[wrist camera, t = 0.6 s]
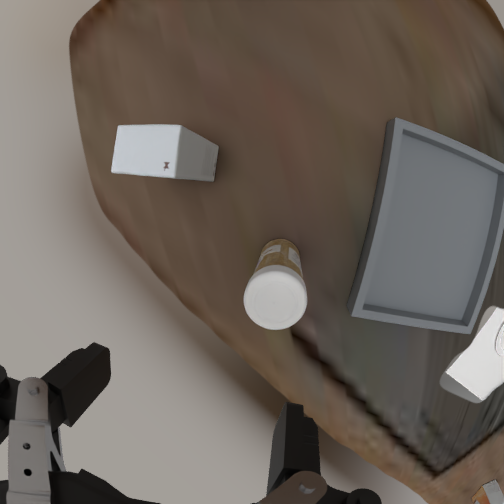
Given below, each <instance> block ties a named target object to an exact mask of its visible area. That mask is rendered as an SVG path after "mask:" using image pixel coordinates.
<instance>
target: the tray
mask: <svg viewBox="0 0 504 504" xmlns="http://www.w3.org/2000/svg"><path fill="white" fill-rule="evenodd" d="M503 229H504V164H502V163H500V162H498V161H497V160H495V159H493V158H491V157H489V156H487V155H485V154H483V153H481V152H479V151H477V150H475V149H473V148H471V147H469V146H467V145H464V144H462V143H460V142H458V141H456V140H453V139H451V138H449V137H446V136H444V135H442V134H439V133H437V132H434V131H432V130H429V129H427V128H424V127H421V126H419V125H416V124H413V123H411V122H408V121H405V120H402V119H399V118H396V117H395V118H394V119H392V120H390V121H389V122H387V126H386V133H385V140H384V147H383V153H382V159H381V165H380V171H379V176H378V182H377V187H376V192H375V197H374V202H373V206H372V211H371V216H370V220H369V224H368V229H367V233H366V237H365V241H364V245H363V249H362V253H361V257H360V261H359V264H358V268H357V272H356V275H355V279H354V282H353V286H352V289H351V293H350V296H349V299H348V303H347V308H348V310H349V312H350V314H351V316H354V317H360V318H365V319H371V320H377V321H383V322H389V323H395V324H402V325H408V326H415V327H421V328H428V329H435V330H442V331H449V332H457V333H465V334H470V333H471V331H472V329H473V326H474V324H475V321H476V319H477V316H478V313H479V311H480V308H481V305H482V303H483V300H484V297H485V294H486V291H487V288H488V285H489V282H490V279H491V275H492V272H493V269H494V265H495V262H496V258H497V254H498V250H499V246H500V242H501V238H502V233H503Z"/></svg>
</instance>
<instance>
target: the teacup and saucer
mask: <svg viewBox="0 0 504 504" xmlns="http://www.w3.org/2000/svg"><path fill="white" fill-rule="evenodd" d="M495 352H496V353H497V355H498V356H500V357H504V323H503V324H502V326H501V327H500V329H499V331H498V334H497V336H496V340H495Z"/></svg>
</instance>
